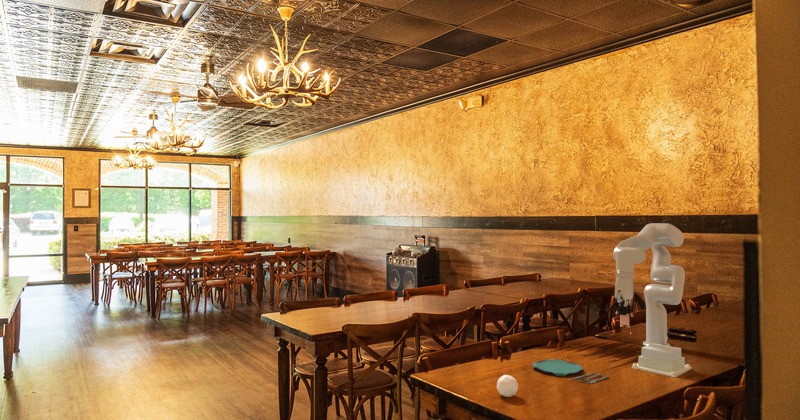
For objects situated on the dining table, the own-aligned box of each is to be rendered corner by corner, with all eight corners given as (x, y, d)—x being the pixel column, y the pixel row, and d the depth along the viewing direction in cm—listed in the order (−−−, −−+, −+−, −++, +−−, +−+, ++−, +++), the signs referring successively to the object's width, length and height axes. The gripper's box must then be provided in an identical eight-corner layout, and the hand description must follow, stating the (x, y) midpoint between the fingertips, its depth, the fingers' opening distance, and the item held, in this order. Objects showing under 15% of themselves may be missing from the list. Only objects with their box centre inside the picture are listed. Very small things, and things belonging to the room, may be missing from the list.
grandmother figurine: (632, 327, 245) (633, 299, 246) (633, 328, 242) (633, 300, 242) (614, 325, 248) (615, 298, 249) (615, 326, 244) (616, 299, 245)
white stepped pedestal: (649, 360, 241) (648, 340, 241) (691, 369, 228) (691, 348, 228) (631, 368, 229) (631, 347, 229) (675, 377, 216) (675, 355, 216)
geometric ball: (502, 404, 192) (489, 386, 193) (509, 390, 199) (496, 373, 199) (518, 398, 188) (504, 380, 188) (525, 384, 194) (511, 367, 194)
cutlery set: (553, 361, 240) (553, 356, 240) (613, 379, 216) (613, 373, 216) (524, 369, 229) (524, 363, 229) (583, 388, 204) (583, 383, 204)
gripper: (624, 273, 253) (624, 310, 253) (608, 275, 242) (608, 315, 242) (640, 274, 248) (640, 313, 248) (624, 277, 237) (624, 317, 237)
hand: (624, 313), depth 245 cm, fingers closed on grandmother figurine, 3 cm apart
